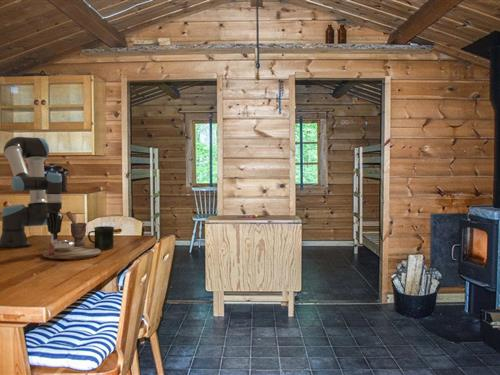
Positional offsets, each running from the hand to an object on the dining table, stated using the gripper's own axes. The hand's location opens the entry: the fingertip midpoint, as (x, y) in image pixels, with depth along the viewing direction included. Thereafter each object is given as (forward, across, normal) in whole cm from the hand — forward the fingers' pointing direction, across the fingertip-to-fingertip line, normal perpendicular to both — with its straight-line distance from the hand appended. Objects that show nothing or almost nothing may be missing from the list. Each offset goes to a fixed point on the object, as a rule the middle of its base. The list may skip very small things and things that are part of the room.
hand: (54, 245), depth 242 cm
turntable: (+4, +16, 0) cm, 16 cm away
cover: (+2, +9, 0) cm, 9 cm away
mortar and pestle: (+4, -9, +20) cm, 22 cm away
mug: (+4, +10, +23) cm, 25 cm away
